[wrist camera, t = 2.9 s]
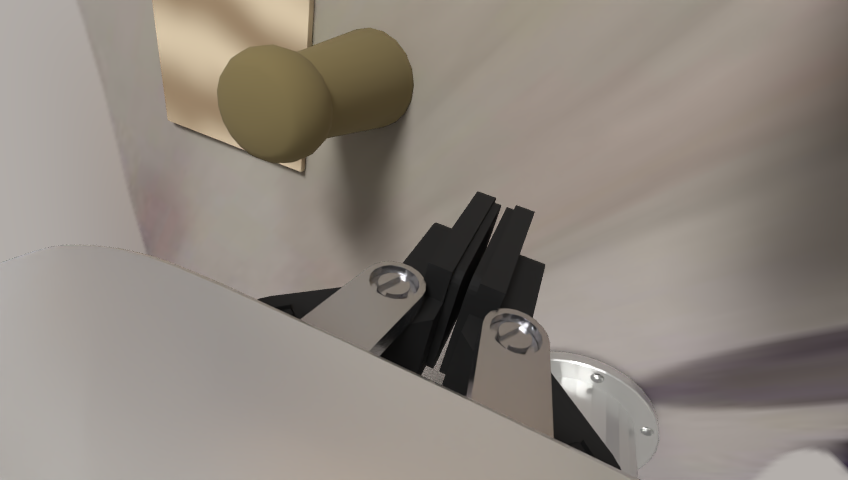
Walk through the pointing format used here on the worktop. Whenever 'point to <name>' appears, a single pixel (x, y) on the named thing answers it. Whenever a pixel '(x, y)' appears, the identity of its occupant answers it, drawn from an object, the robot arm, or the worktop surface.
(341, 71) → the pepper shaker
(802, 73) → the worktop surface
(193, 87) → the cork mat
